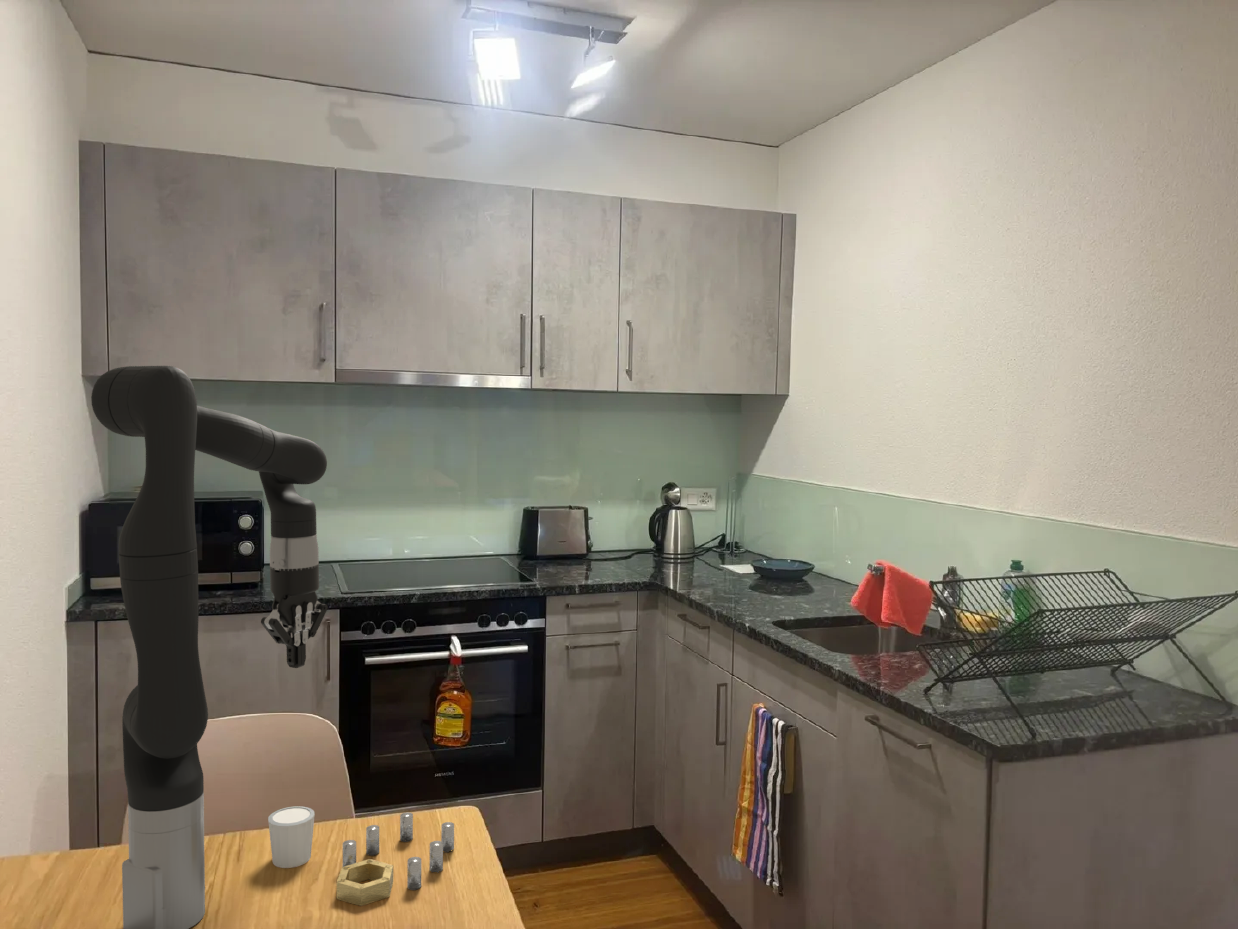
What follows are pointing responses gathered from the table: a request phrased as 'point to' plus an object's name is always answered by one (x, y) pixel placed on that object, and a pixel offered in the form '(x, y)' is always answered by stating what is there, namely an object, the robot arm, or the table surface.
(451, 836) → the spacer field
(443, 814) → the table surface
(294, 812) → the white cup
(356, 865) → the tan hexagonal ring
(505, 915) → the table surface
